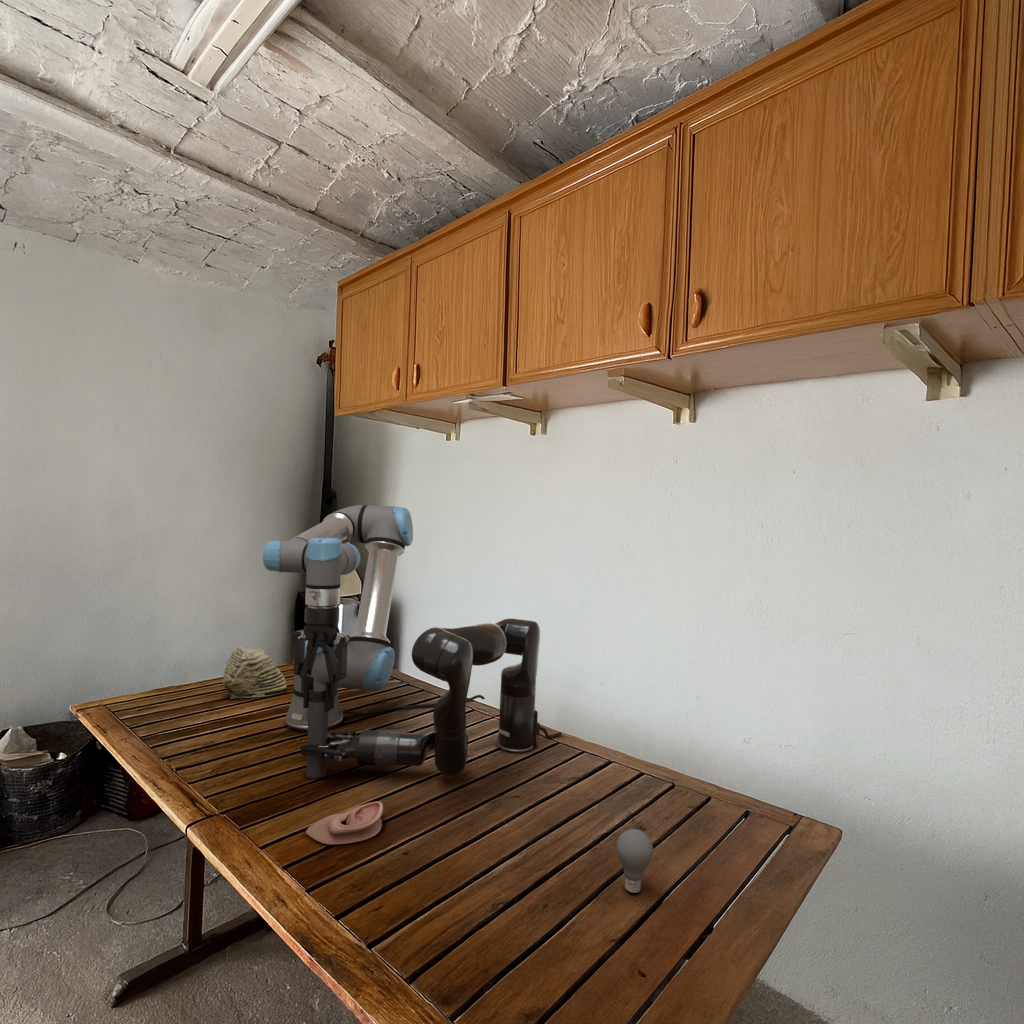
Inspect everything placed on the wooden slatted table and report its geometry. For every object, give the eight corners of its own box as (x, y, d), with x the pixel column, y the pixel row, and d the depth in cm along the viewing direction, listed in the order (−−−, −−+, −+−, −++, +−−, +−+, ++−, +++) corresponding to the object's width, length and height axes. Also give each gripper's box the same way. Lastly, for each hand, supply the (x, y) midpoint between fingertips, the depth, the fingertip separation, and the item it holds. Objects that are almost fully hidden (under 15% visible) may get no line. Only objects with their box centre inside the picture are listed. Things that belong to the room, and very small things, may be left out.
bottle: (324, 778, 143) (327, 695, 142) (304, 778, 142) (307, 695, 142) (327, 769, 147) (330, 689, 147) (307, 770, 146) (310, 689, 146)
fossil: (218, 695, 195) (220, 647, 195) (278, 685, 208) (279, 640, 207) (228, 703, 189) (230, 653, 188) (289, 692, 201) (290, 645, 201)
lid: (320, 701, 141) (321, 692, 141) (302, 698, 143) (303, 689, 143) (334, 695, 145) (335, 687, 145) (317, 692, 147) (317, 683, 147)
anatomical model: (298, 818, 116) (328, 791, 128) (297, 839, 116) (327, 810, 128) (365, 829, 114) (390, 800, 125) (364, 851, 114) (389, 820, 125)
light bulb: (610, 879, 108) (613, 822, 108) (644, 879, 109) (647, 822, 109) (619, 902, 102) (622, 840, 102) (655, 901, 103) (658, 840, 103)
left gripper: (278, 605, 142) (274, 708, 143) (349, 612, 138) (345, 718, 138) (297, 600, 150) (294, 698, 150) (365, 606, 145) (361, 707, 145)
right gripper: (386, 720, 151) (314, 717, 151) (373, 743, 137) (294, 740, 137) (385, 752, 152) (313, 749, 151) (372, 778, 137) (293, 775, 137)
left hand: (318, 707), depth 144 cm, fingers closed on lid, 5 cm apart
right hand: (305, 745), depth 144 cm, fingers closed on bottle, 4 cm apart
